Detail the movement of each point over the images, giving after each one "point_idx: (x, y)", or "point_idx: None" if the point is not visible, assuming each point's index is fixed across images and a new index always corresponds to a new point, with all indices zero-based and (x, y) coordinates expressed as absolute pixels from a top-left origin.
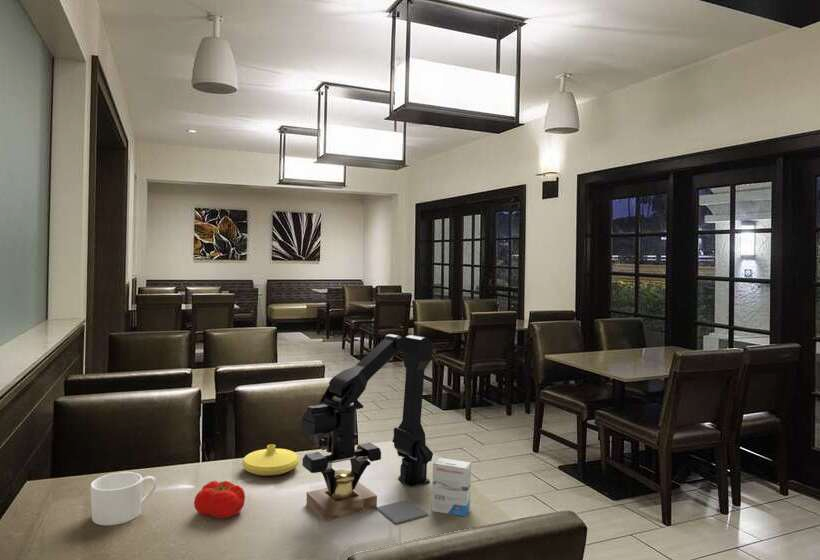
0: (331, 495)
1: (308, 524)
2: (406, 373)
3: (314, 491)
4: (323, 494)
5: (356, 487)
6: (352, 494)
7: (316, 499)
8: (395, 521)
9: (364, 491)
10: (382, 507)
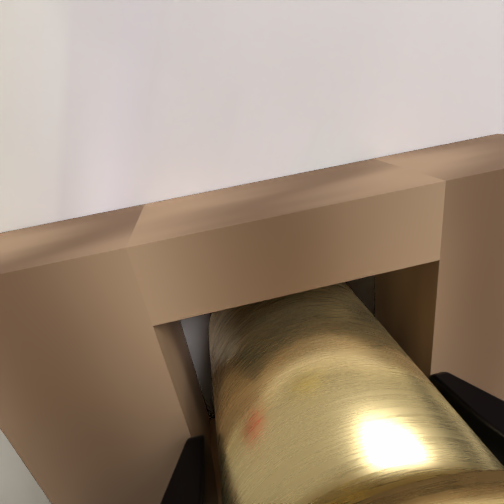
0: (214, 394)
1: (17, 494)
2: None
3: (28, 290)
4: (133, 383)
5: (498, 303)
6: (409, 330)
7: (45, 460)
8: None
9: (502, 387)
10: None
